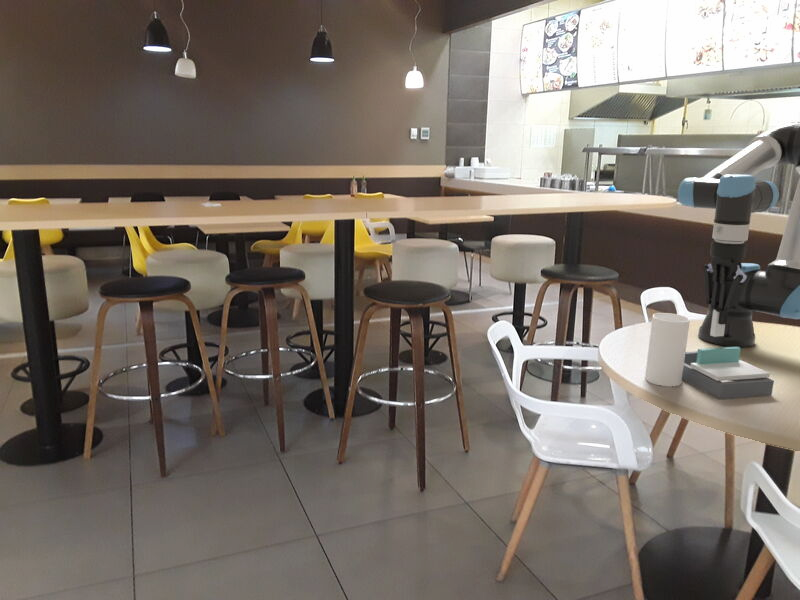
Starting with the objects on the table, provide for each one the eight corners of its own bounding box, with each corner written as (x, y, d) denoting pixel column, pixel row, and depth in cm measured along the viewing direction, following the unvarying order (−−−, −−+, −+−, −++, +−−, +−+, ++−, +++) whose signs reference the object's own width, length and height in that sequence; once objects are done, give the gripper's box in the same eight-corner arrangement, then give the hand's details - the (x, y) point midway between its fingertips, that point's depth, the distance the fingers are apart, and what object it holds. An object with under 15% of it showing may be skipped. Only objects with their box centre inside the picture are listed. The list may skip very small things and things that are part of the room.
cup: (678, 389, 147) (687, 324, 143) (641, 381, 151) (649, 318, 147) (683, 378, 154) (692, 316, 150) (648, 372, 158) (656, 311, 154)
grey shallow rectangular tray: (706, 363, 165) (708, 350, 165) (771, 395, 145) (774, 380, 144) (659, 366, 162) (661, 353, 161) (719, 399, 142) (721, 384, 141)
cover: (739, 363, 154) (742, 346, 153) (769, 377, 145) (772, 358, 144) (690, 366, 151) (692, 349, 150) (717, 380, 142) (720, 362, 141)
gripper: (696, 237, 153) (686, 328, 159) (736, 246, 141) (722, 345, 147) (722, 235, 155) (711, 326, 161) (763, 244, 143) (749, 342, 149)
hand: (716, 335), depth 154 cm, fingers closed
